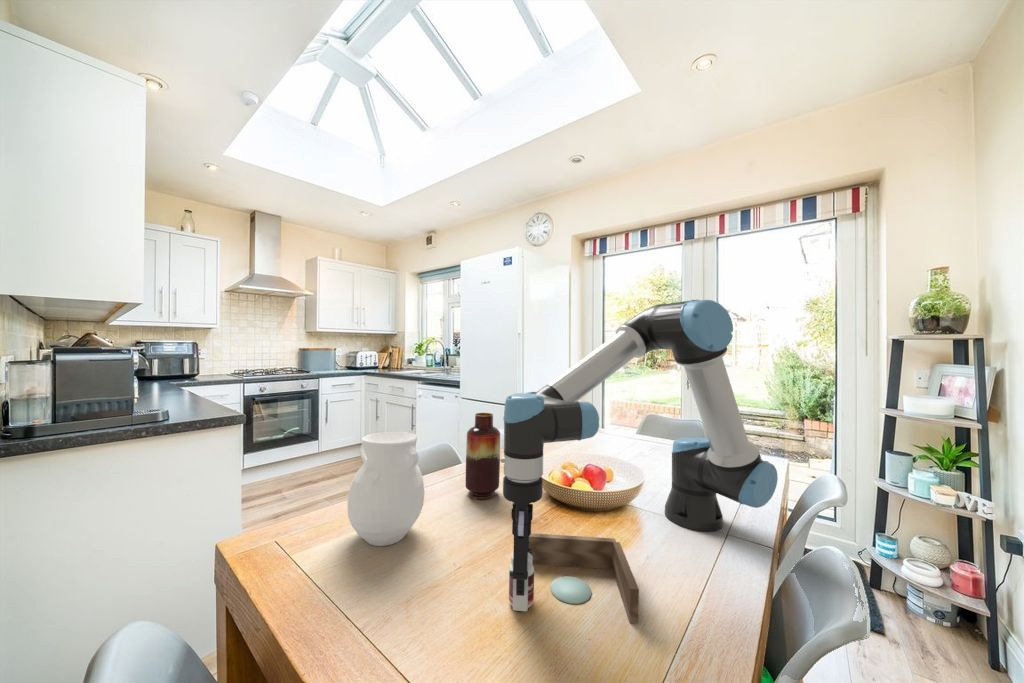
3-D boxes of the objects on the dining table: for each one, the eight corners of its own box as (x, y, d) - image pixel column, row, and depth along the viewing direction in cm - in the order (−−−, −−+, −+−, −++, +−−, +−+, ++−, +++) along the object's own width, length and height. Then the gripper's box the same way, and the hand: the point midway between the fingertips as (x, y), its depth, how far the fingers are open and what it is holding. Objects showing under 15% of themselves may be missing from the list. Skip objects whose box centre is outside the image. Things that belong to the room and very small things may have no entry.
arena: (617, 565, 84) (618, 538, 84) (638, 623, 66) (638, 589, 66) (525, 559, 85) (526, 532, 85) (521, 614, 68) (522, 581, 68)
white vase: (438, 528, 99) (440, 433, 99) (387, 564, 82) (391, 450, 82) (384, 513, 106) (386, 425, 107) (328, 543, 90) (331, 439, 90)
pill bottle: (515, 612, 68) (515, 566, 68) (504, 596, 72) (505, 552, 72) (538, 605, 69) (538, 560, 70) (527, 590, 74) (527, 547, 74)
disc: (588, 579, 78) (588, 577, 78) (593, 605, 71) (593, 604, 71) (550, 576, 79) (550, 575, 79) (551, 602, 71) (551, 600, 71)
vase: (505, 492, 123) (507, 413, 124) (485, 504, 114) (487, 419, 114) (478, 485, 129) (480, 410, 129) (457, 495, 120) (460, 414, 120)
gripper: (507, 460, 80) (505, 569, 80) (498, 493, 62) (495, 633, 62) (542, 462, 79) (540, 571, 79) (543, 496, 62) (540, 637, 62)
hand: (520, 598), depth 71 cm, fingers closed on pill bottle, 5 cm apart
